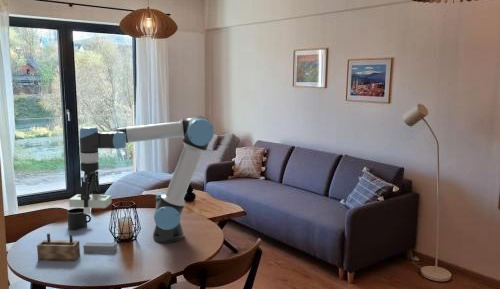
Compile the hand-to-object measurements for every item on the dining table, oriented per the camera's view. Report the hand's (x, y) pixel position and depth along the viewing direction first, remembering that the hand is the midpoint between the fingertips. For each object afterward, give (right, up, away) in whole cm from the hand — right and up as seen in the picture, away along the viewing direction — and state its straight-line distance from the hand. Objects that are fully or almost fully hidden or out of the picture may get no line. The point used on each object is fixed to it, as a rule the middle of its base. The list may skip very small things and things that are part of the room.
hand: (91, 210), depth 193 cm
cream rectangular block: (0, +3, 0) cm, 3 cm away
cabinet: (-13, -20, -4) cm, 24 cm away
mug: (-19, -14, +35) cm, 42 cm away
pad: (+3, -19, +5) cm, 20 cm away
